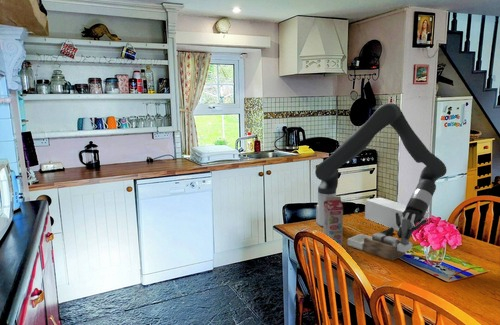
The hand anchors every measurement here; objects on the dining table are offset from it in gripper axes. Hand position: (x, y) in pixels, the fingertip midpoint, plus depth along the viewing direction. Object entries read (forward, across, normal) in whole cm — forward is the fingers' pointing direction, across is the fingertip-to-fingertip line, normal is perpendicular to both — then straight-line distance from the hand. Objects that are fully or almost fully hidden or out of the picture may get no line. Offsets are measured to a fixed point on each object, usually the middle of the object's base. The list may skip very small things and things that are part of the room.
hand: (402, 237), depth 144 cm
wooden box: (+5, -9, +8) cm, 13 cm away
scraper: (+2, 0, +5) cm, 6 cm away
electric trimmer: (-7, -19, +21) cm, 29 cm away
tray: (+5, -20, +8) cm, 22 cm away
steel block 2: (+3, -6, +6) cm, 9 cm away
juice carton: (+12, -29, +2) cm, 31 cm away
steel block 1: (+3, -12, +6) cm, 13 cm away
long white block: (-20, -25, +34) cm, 46 cm away
